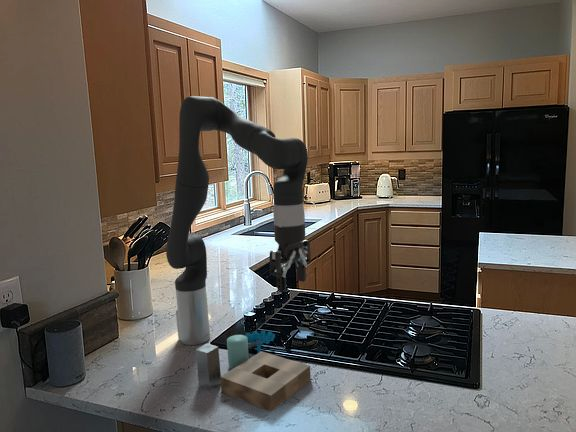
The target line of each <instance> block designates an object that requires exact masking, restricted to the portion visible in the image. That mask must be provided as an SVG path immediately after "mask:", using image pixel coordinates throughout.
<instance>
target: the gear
mask: <svg viewBox="0 0 576 432" xmlns="http://www.w3.org/2000/svg"><path fill="white" fill-rule="evenodd" d="M245 336H246V337H247V340H248V348H251V347H256V349H257V354H258V353H259V352H261V351H262V348H261V347H262V346H263V345H264V344H267V345H268V344H270V341H271V342H272V341H273V342H274V340H275V338H276V334H275V333H273V332H272V331H267V332H266V329H265V330H263V329H262V330H260V332H258V331H257V330H254V331H252V333H250V332H246V333H245Z"/></svg>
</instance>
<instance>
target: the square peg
mask: <svg viewBox="0 0 576 432" xmlns="http://www.w3.org/2000/svg"><path fill="white" fill-rule="evenodd" d="M219 352H220V351H219V346H216V345H213V344H211V343H205V344H203V345H202V346H199V347H197V348H196V349H195V356H196V367H197V369H196V370H197V377H198V387H201V388H203V389H205V390H208V391H211V390H213V389H215V388H216V387H218V386H219V385H221V380H220V377H221V376H222V375H221V364H220V362H221V361H220V353H219Z"/></svg>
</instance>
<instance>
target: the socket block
mask: <svg viewBox="0 0 576 432" xmlns="http://www.w3.org/2000/svg"><path fill="white" fill-rule="evenodd" d="M220 380H221V384H220V390H221V391H220V392H222V393H224V394H227V395H228V396H231V397H233V398H237V399H239V400H241V401H244V402H246V403H249V404H252V405H254V406H256V407H259V408H262V409H265V410H267V411H269V412H273V411H274V410H276V409H277V408H279V406H281V405H282V404H283V403H285V402H286V401H287V400H288V399H290V398H291V397H292V396H294V395H295V394H296V393H297V392H298V391H299V390H301V389H302V388H303V387H304V386H306V385H307V384H309V382H311V365H309V364H305V363H302V362H299V361H295V360H291V359H289V358H285V357H282V356H279V355H275V354H272V353H268V352H265V351H262V350H261V352H259V353H258V352H257V353H256V354H255V355H253V356H251V357H249V359H248V360H247V361H245V362H243V363H242V364H240V365H239V366H237V367H235V368H234V369H232V370H228V371H227V372H225V373H224V374H223V375H221V377H220Z"/></svg>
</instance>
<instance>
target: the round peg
mask: <svg viewBox="0 0 576 432" xmlns="http://www.w3.org/2000/svg"><path fill="white" fill-rule="evenodd" d="M226 348H227V361H228V362H227V363H228V369H229V371H231V370H232V369H234V368H235V367H237V366H239V365H240V364H242V363H243V362H245V361H247V360H248V359H250V356H249V347H248V340H247V337H246V335H245V334H234V335H231V336H229V337H228V338H227V339H226Z"/></svg>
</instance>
